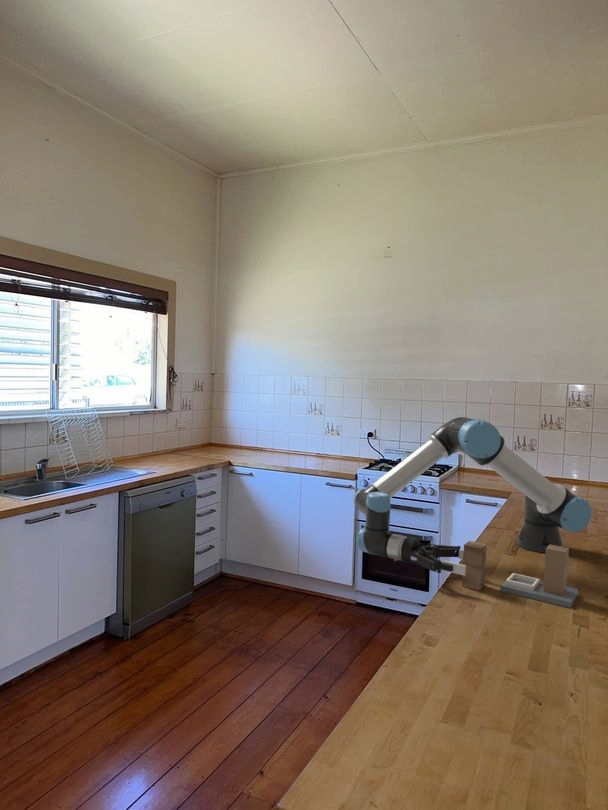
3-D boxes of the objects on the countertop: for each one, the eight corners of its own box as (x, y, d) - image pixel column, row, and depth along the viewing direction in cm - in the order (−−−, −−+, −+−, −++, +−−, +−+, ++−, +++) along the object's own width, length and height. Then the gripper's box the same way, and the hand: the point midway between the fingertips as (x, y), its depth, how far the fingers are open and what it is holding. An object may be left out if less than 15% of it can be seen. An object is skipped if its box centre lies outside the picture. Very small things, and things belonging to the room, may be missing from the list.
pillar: (467, 581, 164) (469, 540, 163) (484, 585, 161) (486, 544, 161) (461, 586, 160) (463, 544, 159) (479, 590, 157) (481, 548, 156)
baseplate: (511, 579, 167) (514, 534, 166) (577, 594, 157) (580, 546, 156) (500, 591, 157) (503, 543, 156) (570, 608, 147) (573, 557, 146)
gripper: (420, 551, 182) (486, 566, 170) (386, 571, 162) (457, 589, 150) (421, 528, 182) (487, 541, 170) (387, 546, 162) (458, 562, 150)
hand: (473, 564), depth 160 cm, fingers open, 13 cm apart
